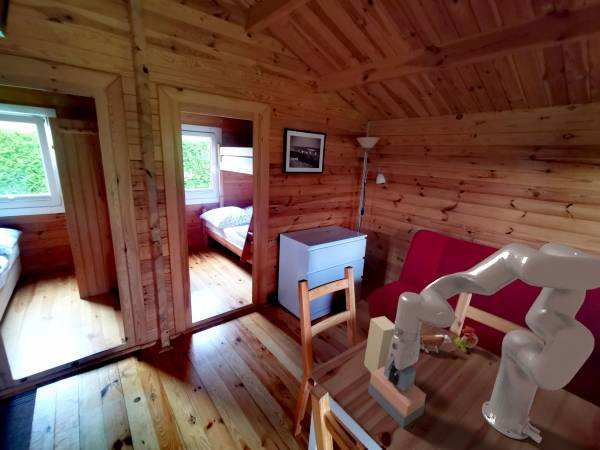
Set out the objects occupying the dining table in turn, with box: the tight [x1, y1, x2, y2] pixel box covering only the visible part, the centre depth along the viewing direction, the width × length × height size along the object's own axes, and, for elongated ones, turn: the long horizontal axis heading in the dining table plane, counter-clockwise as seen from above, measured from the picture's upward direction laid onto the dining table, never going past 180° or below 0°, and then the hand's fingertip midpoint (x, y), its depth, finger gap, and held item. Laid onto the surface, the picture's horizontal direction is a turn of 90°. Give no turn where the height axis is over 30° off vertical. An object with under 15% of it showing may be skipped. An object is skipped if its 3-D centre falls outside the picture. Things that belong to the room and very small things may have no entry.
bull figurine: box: [420, 333, 453, 354], centre depth 119 cm, size 4×13×8 cm, turn 89°
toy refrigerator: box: [363, 315, 395, 374], centre depth 104 cm, size 8×7×21 cm
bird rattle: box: [453, 325, 479, 353], centre depth 122 cm, size 6×11×9 cm
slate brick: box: [384, 359, 417, 391], centre depth 90 cm, size 8×5×6 cm, turn 31°
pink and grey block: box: [367, 366, 427, 429], centre depth 92 cm, size 15×10×8 cm, turn 31°
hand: (398, 378), depth 90 cm, fingers closed on slate brick, 4 cm apart
